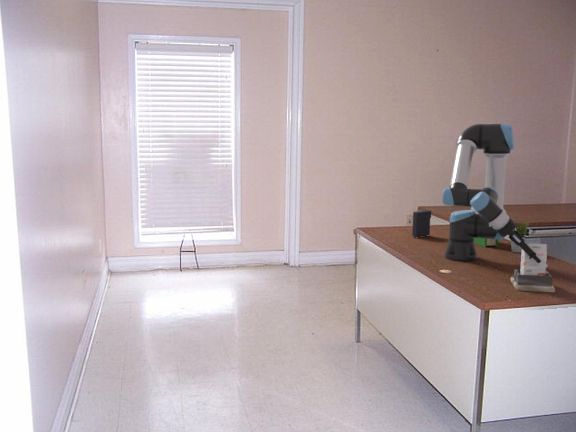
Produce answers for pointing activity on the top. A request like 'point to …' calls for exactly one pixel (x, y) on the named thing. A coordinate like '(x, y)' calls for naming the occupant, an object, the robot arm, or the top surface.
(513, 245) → the house plant
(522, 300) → the top surface
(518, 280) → the sleeve stand
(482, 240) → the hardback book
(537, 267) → the ink cartridge box
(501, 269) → the top surface
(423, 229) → the dark navy upright block
